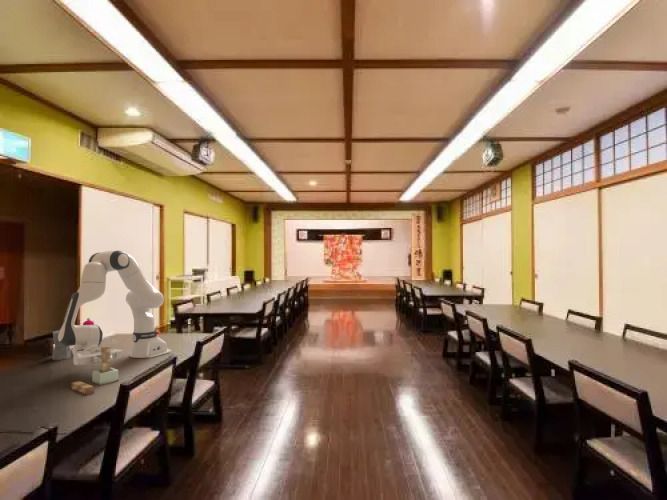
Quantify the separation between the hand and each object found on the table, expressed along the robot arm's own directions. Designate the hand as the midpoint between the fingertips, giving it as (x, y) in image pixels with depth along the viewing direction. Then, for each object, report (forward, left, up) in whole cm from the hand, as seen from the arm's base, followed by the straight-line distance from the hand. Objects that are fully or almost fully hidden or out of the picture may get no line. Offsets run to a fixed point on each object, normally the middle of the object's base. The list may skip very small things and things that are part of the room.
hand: (106, 359), depth 183 cm
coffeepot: (-4, -62, -11) cm, 63 cm away
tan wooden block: (0, -1, -8) cm, 8 cm away
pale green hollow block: (0, -1, -10) cm, 10 cm away
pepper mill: (-21, -72, -11) cm, 76 cm away
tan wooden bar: (+12, +5, -11) cm, 17 cm away
